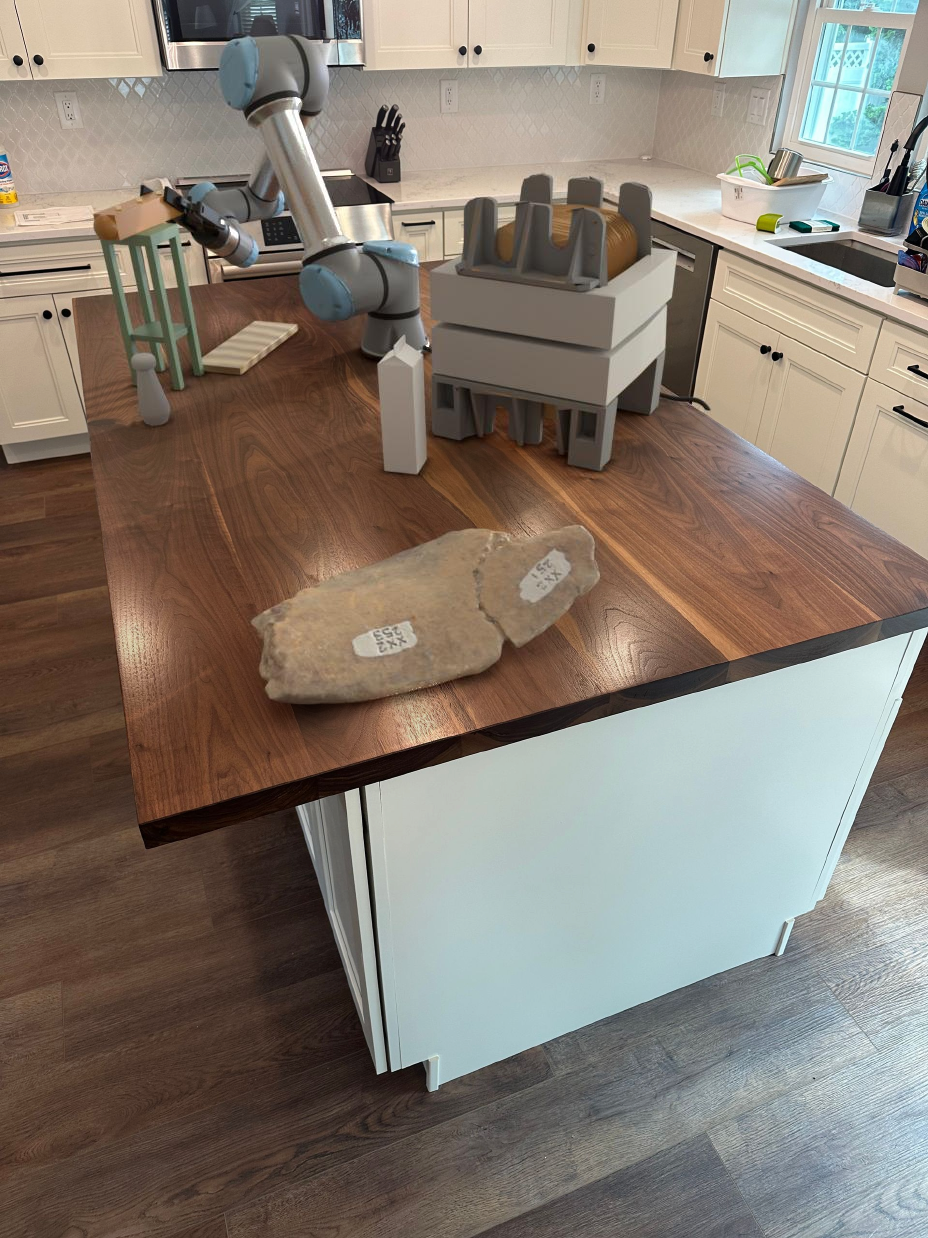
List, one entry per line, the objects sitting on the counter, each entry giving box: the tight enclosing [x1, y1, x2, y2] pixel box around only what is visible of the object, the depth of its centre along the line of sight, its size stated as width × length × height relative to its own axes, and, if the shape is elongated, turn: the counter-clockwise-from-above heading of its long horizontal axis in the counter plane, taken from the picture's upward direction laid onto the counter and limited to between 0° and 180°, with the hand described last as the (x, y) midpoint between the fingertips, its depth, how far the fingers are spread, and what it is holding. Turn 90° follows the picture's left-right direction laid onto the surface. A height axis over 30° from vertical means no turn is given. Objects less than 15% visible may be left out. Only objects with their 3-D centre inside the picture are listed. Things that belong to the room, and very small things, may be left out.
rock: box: [250, 524, 601, 705], centre depth 115 cm, size 45×11×26 cm
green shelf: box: [99, 222, 205, 391], centre depth 181 cm, size 10×11×30 cm
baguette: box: [92, 188, 184, 241], centre depth 172 cm, size 28×4×5 cm, turn 165°
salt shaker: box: [131, 352, 171, 427], centre depth 168 cm, size 6×6×13 cm
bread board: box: [201, 320, 299, 376], centre depth 204 cm, size 30×11×2 cm, turn 165°
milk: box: [377, 335, 428, 475], centre depth 150 cm, size 6×6×22 cm
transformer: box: [429, 172, 678, 472], centre depth 159 cm, size 34×33×41 cm
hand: (153, 192), depth 175 cm, fingers open, 4 cm apart
